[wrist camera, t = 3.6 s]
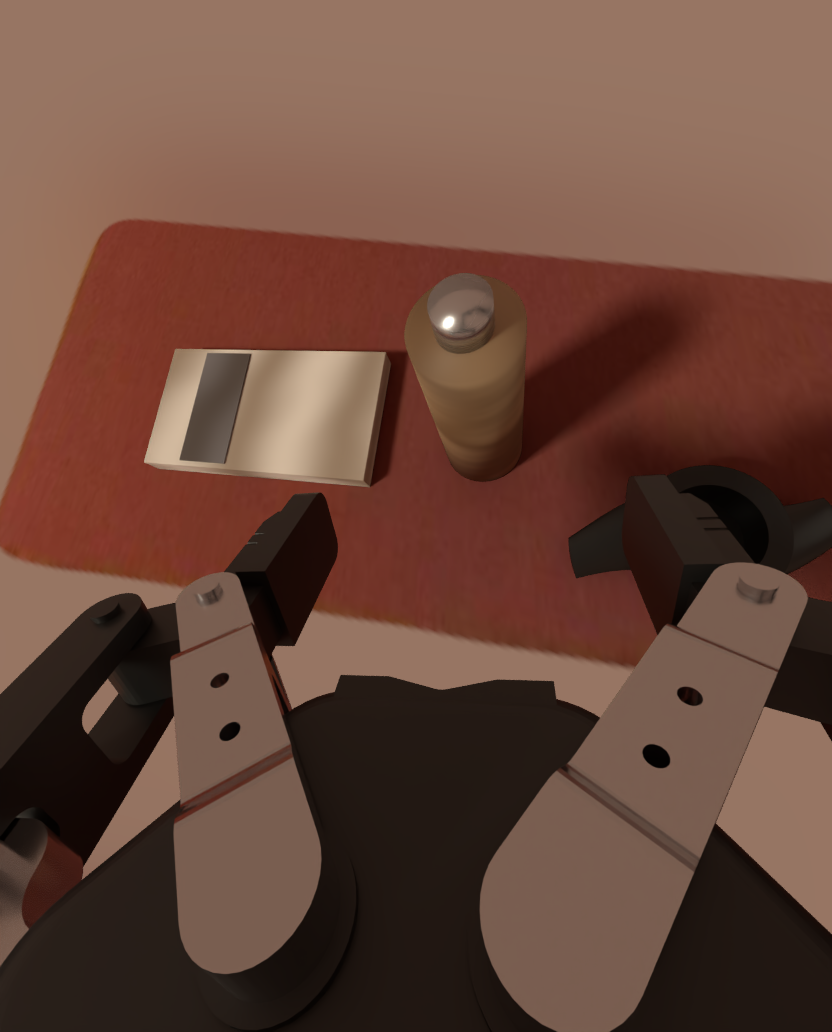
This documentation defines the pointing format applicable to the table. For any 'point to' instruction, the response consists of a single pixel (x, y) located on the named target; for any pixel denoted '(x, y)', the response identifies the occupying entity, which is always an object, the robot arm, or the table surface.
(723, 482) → the black winged cup
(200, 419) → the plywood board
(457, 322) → the wooden pepper mill
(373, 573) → the table surface
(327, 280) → the table surface
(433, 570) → the table surface
